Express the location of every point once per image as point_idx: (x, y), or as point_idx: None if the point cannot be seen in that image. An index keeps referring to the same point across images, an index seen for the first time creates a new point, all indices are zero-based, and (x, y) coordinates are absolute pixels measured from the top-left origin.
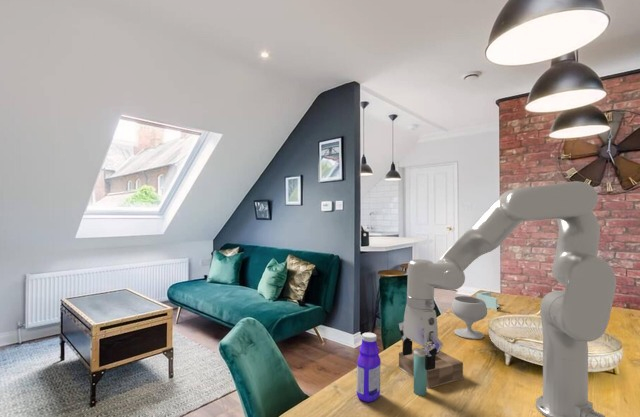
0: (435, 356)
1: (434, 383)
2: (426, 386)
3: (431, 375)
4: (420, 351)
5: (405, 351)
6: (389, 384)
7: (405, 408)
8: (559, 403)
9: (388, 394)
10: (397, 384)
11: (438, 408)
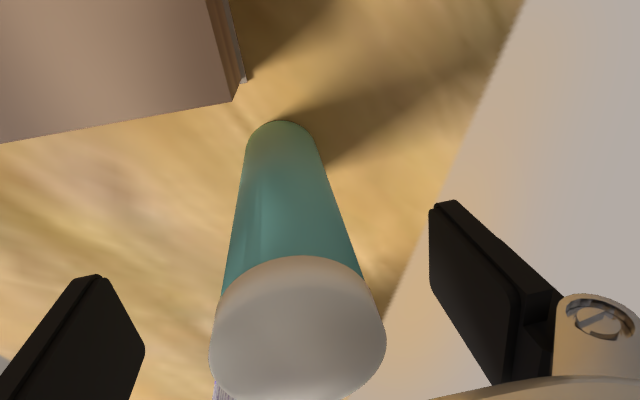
0: (528, 267)
1: (225, 19)
2: (310, 143)
3: (227, 58)
4: (320, 360)
5: (128, 373)
6: (176, 268)
7: (383, 273)
8: None
9: None
10: (180, 232)
11: (438, 142)
